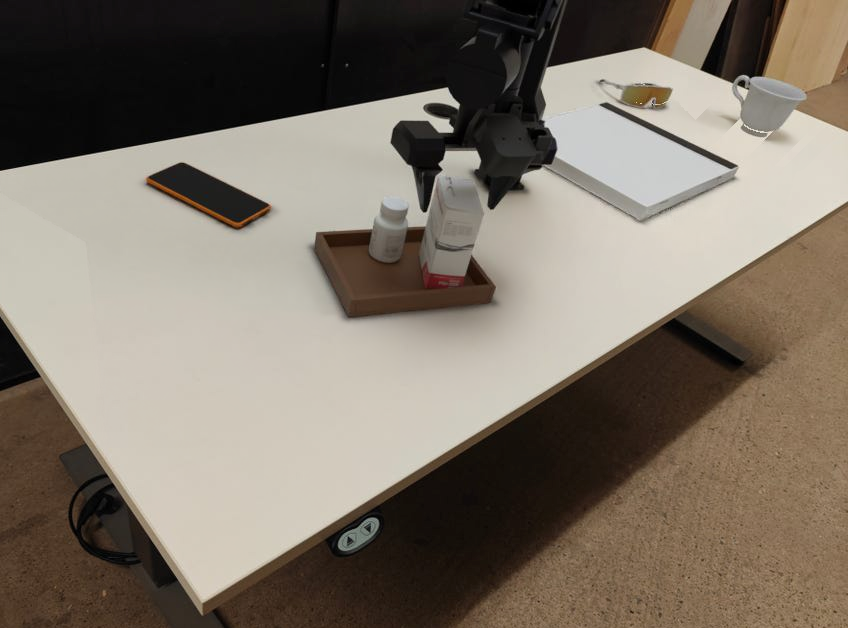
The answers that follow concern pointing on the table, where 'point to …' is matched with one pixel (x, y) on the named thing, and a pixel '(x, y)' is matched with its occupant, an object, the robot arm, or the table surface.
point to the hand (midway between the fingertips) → (457, 209)
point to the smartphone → (209, 194)
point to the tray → (391, 276)
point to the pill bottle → (389, 230)
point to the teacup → (766, 103)
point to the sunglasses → (642, 94)
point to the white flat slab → (631, 160)
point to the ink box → (450, 232)
